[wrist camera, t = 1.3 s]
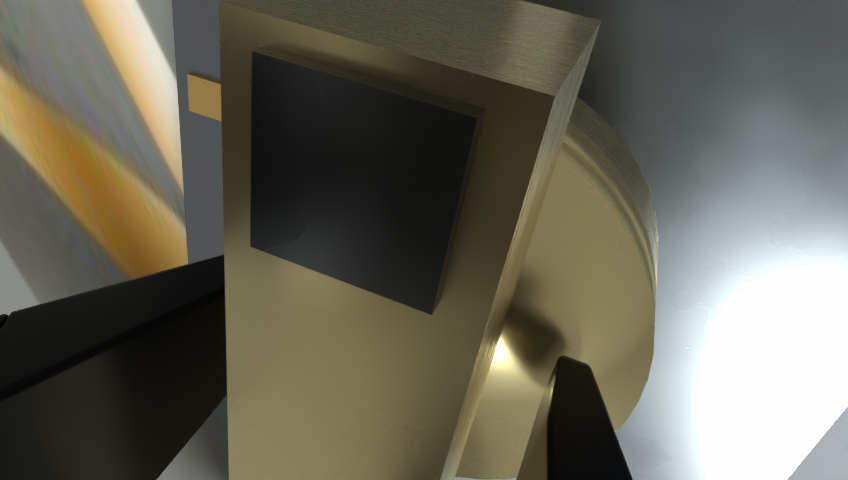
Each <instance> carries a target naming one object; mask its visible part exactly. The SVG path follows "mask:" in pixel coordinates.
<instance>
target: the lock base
mask: <svg viewBox="0 0 848 480" xmlns="http://www.w3.org/2000/svg"><path fill="white" fill-rule="evenodd" d="M219 1H224V0H172V7H173V23H174V39H175V56H176V72H177V88H178V104H179V120H180V136H181V152H182V168H183V185H184V201H185V217H186V233H187V249H188V264H191V263H194V262H198V261H202V260H205V259H209V258H213V257H216V256H220V255H224V218H223V170H222V122H221V74H220V26H219ZM522 1H526V2H530V3H534V4H538V5H542V6H546V7H550V8H554V9H558V10H562V11H566V12H570V13H574V14H578V15H582V16H586V17H590V18H594V19H598V20H602V21H601V24H600V27H599V30H598V33H597V37H596V40H595V43H594V46H593V49H592V52H591V55H590V58H589V61H588V65H587V68H586V71H585V74H584V77H583V80H582V83H581V86H580V89H579V93H578V96H577V97H579V98H580V99H582V100H583V101H584V102H586V103H587V104H588V105H589V106H590V107H591V108H592V109H594V110H595V111H596V112H597V113H598V114H599V115H600V116H601V117H602V118H604V119H605V120H606V121H607V122H608V124H609V125H610V126H611V127H612V128H613V130H614V131H615V132H616V133H617V134H618V135H619V137H620V138H621V139H622V140H623V141H624V143H625V144H626V146H627V147H628V149H629V151H630V152H631V154H632V155H633V157H634V159H635V160H636V162H637V163H638V165H639V167H640V169H641V172H642V174H643V176H644V178H645V181H646V183H647V185H648V187H649V190H650V193H651V197H652V201H653V204H654V208H655V211H656V217H657V226H658V234H659V246H658V269H657V290H656V311H655V332H654V354H653V359H652V364H651V368H650V372H649V377H648V381H647V383H646V385H645V388H644V390H643V392H642V395H641V397H640V399H639V402H638V404H637V405H636V407H635V408H634V410H633V411H632V413H631V414H630V416H629V417H628V419H627V420H626V422H625V423H624V424H623V425H622V426H621V427H620V428H619V429H618V430H617V431H616V435H617V437H618V440H619V442H620V445H621V448H622V450H623V453H624V456H625V458H626V461H627V463H628V466H629V469H630V471H631V474H632V477H633V479H634V480H787V479H788V477H789V476H790V475H791V474H792V473H793V471H794V470H795V469H796V468H797V466H798V465H799V464H800V463H801V462H802V460H803V459H804V458H805V457H806V456H807V454H808V453H809V452H810V451H811V450H812V448H813V447H814V446H815V445H816V443H817V442H818V441H819V440H820V439H821V437H822V436H823V435H824V434H825V433H826V431H827V430H828V429H829V428H830V427H831V425H832V424H833V423H834V422H835V420H836V419H837V418H838V417H839V416H840V414H841V413H842V412H843V411H844V410H845V408H846V407H847V406H848V0H522Z"/></svg>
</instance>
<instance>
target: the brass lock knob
mask: <svg viewBox="0 0 848 480" xmlns="http://www.w3.org/2000/svg"><path fill="white" fill-rule="evenodd" d="M601 21H602V20H598V19H594V18H590V17H586V16H582V15H578V14H574V13H570V12H566V11H562V10H558V9H554V8H550V7H546V6H542V5H538V4H534V3H530V2H526V1H522V0H224V1H219V26H220V74H221V122H222V170H223V218H224V266H225V314H226V362H227V410H228V458H229V480H454V478H455V476H456V477H466V478H476V479H509V478H517V476H518V473H519V470H520V467H521V463H522V460H523V457H524V453H525V450H526V447H527V444H528V440H529V437H530V434H531V430H532V427H533V424H534V421H535V417H536V414H537V411H538V408H539V405H540V402H541V399H542V396H543V394H544V391H545V389H546V386H547V384H548V381H549V379H550V377H551V374H552V372H553V369H554V367H555V364H556V362H557V360H558V358H559V357H560V356H562V355H565V356H568V357H571V358H573V359H576V360H579V361H581V362H584V363H586V364H588V365H589V366H590V367H591V369H592V371H593V374H594V377H595V379H596V382H597V384H598V387H599V390H600V392H601V395H602V398H603V400H604V403H605V406H606V408H607V411H608V413H609V416H610V419H611V421H612V424H613V427H614V429H615V432H616V431H617V430H618V429H619V428H620V427H621V426H622V425H623V424H624V423H625V422H626V420H627V419H628V417H629V416H630V414H631V413H632V411H633V410H634V408H635V407H636V405H637V404H638V402H639V399H640V397H641V395H642V392H643V390H644V388H645V385H646V383H647V381H648V377H649V372H650V368H651V364H652V359H653V354H654V332H655V311H656V290H657V269H658V246H659V234H658V226H657V217H656V211H655V208H654V204H653V201H652V197H651V193H650V190H649V187H648V185H647V183H646V181H645V178H644V176H643V174H642V172H641V169H640V167H639V165H638V163H637V162H636V160H635V159H634V157H633V155H632V154H631V152H630V151H629V149H628V147H627V146H626V144H625V143H624V141H623V140H622V139H621V138H620V137H619V135H618V134H617V133H616V132H615V131H614V130H613V128H612V127H611V126H610V125H609V124H608V122H607V121H606V120H605V119H604V118H602V117H601V116H600V115H599V114H598V113H597V112H596V111H595V110H594V109H592V108H591V107H590V106H589V105H588V104H587V103H586V102H584V101H583V100H582V99H580V98H579V97H577V96H578V93H579V89H580V86H581V83H582V80H583V77H584V74H585V71H586V68H587V65H588V61H589V58H590V55H591V52H592V49H593V46H594V43H595V40H596V37H597V33H598V30H599V27H600V24H601Z"/></svg>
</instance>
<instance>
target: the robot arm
mask: <svg viewBox="0 0 848 480" xmlns="http://www.w3.org/2000/svg"><path fill="white" fill-rule="evenodd" d="M226 395H227V362H226V314H225V266H224V255H220V256H216V257H213V258H209V259H205V260H202V261H198V262H194V263H191V264H187V265H183V266H180V267H176V268H172V269H169V270H165V271H161V272H158V273H154V274H150V275H147V276H143V277H139V278H136V279H132V280H128V281H124V282H121V283H117V284H113V285H110V286H106V287H102V288H99V289H95V290H91V291H88V292H84V293H80V294H77V295H73V296H69V297H66V298H62V299H58V300H54V301H51V302H47V303H43V304H40V305H36V306H33V307H29V308H25V309H21V310H18V311H14V312H12V313H11V314H10V315H9V316H8V315H6V314H2V315H0V480H156V479H157V478H158V477H159V476H160V475H161V473H162V472H163V471H164V470H165V469H166V467H167V466H168V465H169V464H170V463H171V461H172V460H173V459H174V458H175V457H176V455H177V454H178V453H179V452H180V451H181V449H182V448H183V447H184V446H185V445H186V443H187V442H188V441H189V440H190V439H191V437H192V436H193V435H194V434H195V433H196V431H197V430H198V429H199V428H200V427H201V425H202V424H203V423H204V422H205V421H206V419H207V418H208V417H209V416H210V415H211V413H212V412H213V411H214V410H215V409H216V407H217V406H218V405H219V404H220V403H221V401H222V400H223V399H224V398H225V396H226ZM517 480H634V479H633V477H632V474H631V471H630V469H629V466H628V463H627V461H626V458H625V456H624V453H623V450H622V448H621V445H620V442H619V440H618V437H617V435H616V432H615V429H614V427H613V424H612V421H611V419H610V416H609V413H608V411H607V408H606V406H605V403H604V400H603V398H602V395H601V392H600V390H599V387H598V384H597V382H596V379H595V377H594V374H593V371H592V369H591V367H590V366H589V365H588V364H586V363H584V362H581V361H579V360H576V359H573V358H571V357H568V356H565V355H562V356H560V357H559V358H558V360H557V362H556V364H555V367H554V369H553V372H552V374H551V377H550V379H549V381H548V384H547V386H546V389H545V391H544V394H543V396H542V399H541V402H540V405H539V408H538V411H537V414H536V417H535V421H534V424H533V427H532V430H531V434H530V437H529V440H528V444H527V447H526V450H525V453H524V457H523V460H522V463H521V467H520V470H519V473H518V476H517Z"/></svg>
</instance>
